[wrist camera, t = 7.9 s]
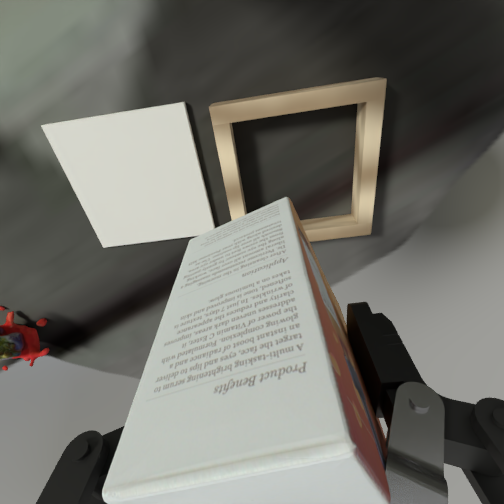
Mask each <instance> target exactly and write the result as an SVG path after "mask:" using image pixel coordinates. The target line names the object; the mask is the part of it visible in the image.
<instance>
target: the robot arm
mask: <svg viewBox="0 0 504 504" xmlns="http://www.w3.org/2000/svg"><path fill="white" fill-rule="evenodd" d="M347 335H348V338H349V341H350V344H351V347H352V350H353V352H354V355H355V358H356V361H357V363H358V366H359V369H360V372H361V375H362V377H363V380H364V383H365V386H366V389H367V392H368V394H369V397H370V400H371V403H372V406H373V409H374V412H375V415H376V417H377V418H384V419H385V422H386V425H387V427H388V431H387V437H386V448H387V453H386V467H385V474H386V478H387V482H388V487H389V491H390V496H391V500H390V504H448V487H447V482H446V480H445V478H444V463H446V464H450V465H453V466H456V467H460V468H461V469H462V470H463V472H464V474H465V475H466V477H467V479H468V480H469V482H470V484H471V486H472V487H473V489H474V491H475V492H476V494H477V496H478V497H479V499H480V501H481V503H482V504H504V401H503V400H500V399H496V398H485V399H481V400H479V402H477V404H476V405H475V404H471V403H466V402H461V401H456V400H452V399H449V398H445V397H443V396H441V395H439V394H437V393H436V392H435V391H434V390H432V389H431V388H430V387H428V386H427V385H426V384H425V382H424V381H423V379H422V378H421V376H420V374H419V372H418V370H417V369H416V367H415V365H414V363H413V361H412V359H411V357H410V355H409V354H408V352H407V350H406V348H405V346H404V344H403V343H402V340H401V338H400V336H399V335H398V333H397V331H396V329H395V327H394V325H393V324H392V322H391V321H390V320H389V319H388V318H387V317H386V316H384V315H383V314H382V313H376V314H372V312H371V310H370V307H369V305H368V303H367V302H360V303H351V304H348V306H347ZM123 429H124V426H123V427H121V428H119V429H116V430H114V431H112V432H110V433H107V434H105V435H103V436H102V435H101V434H100V433H99V432H97V431H87V432H84V433H82V434H80V435H78V436H77V437H76V438H75V439H74V440H72V441H71V442H70V444H69V445H68V446H67V447H66V449H65V451H64V452H63V454H62V456H61V458H60V460H59V461H58V463H57V465H56V467H55V469H54V471H53V473H52V474H51V476H50V478H49V480H48V482H47V484H46V486H45V488H44V489H43V491H42V493H41V495H40V497H39V499H38V501H37V502H36V504H107V503H106V502H104V500H103V497H102V489H103V486H104V483H105V480H106V478H107V475H108V472H109V469H110V466H111V463H112V460H113V458H114V455H115V452H116V450H117V447H118V444H119V441H120V438H121V435H122V432H123Z"/></svg>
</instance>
